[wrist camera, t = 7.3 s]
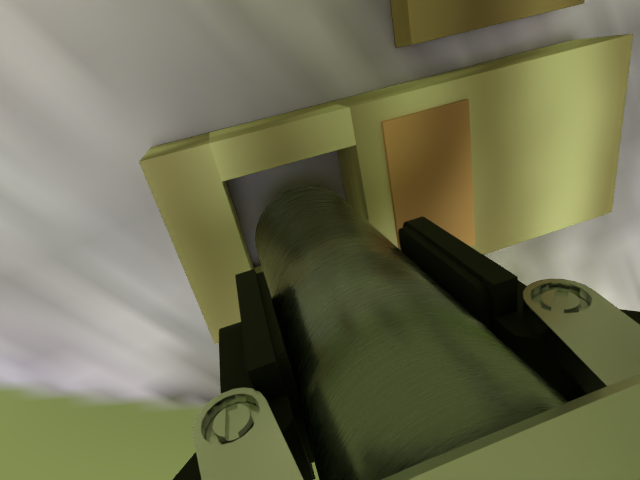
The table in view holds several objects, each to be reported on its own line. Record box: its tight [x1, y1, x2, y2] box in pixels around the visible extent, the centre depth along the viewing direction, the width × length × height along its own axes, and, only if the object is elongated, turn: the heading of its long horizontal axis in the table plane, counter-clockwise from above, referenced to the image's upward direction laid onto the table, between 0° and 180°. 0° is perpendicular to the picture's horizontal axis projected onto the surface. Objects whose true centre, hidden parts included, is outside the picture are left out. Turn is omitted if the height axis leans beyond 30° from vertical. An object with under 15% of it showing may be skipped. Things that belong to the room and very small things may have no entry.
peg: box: [255, 186, 569, 480], centre depth 10 cm, size 4×4×12 cm
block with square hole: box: [139, 34, 633, 344], centre depth 18 cm, size 20×8×3 cm, turn 103°
